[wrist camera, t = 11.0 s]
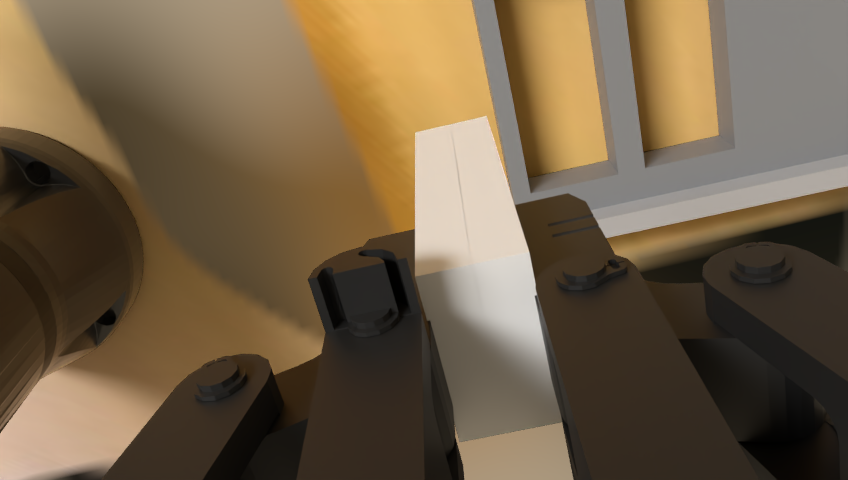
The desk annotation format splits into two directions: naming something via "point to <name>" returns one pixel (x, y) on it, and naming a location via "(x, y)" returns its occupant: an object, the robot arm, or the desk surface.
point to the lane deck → (736, 108)
